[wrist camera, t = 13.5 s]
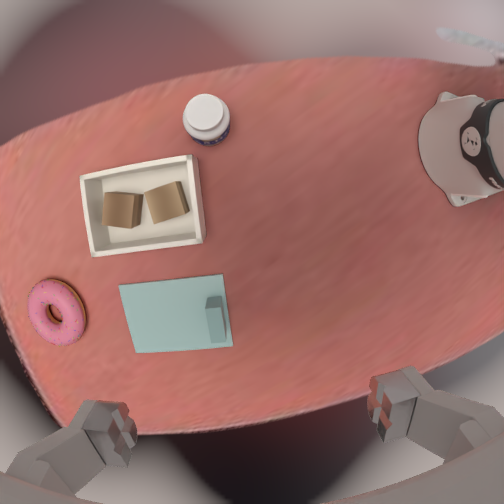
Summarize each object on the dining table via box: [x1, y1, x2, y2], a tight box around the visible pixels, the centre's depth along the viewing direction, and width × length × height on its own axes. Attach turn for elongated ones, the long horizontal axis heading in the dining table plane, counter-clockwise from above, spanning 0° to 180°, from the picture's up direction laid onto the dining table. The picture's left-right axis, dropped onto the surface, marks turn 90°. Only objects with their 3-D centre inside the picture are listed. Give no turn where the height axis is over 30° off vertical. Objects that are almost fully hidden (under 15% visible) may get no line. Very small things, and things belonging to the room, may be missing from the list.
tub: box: [79, 154, 207, 257], centre depth 36 cm, size 14×10×6 cm
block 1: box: [102, 191, 144, 229], centre depth 36 cm, size 4×4×4 cm
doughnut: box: [28, 279, 86, 347], centre depth 40 cm, size 11×11×4 cm
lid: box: [119, 273, 233, 353], centre depth 41 cm, size 15×11×5 cm
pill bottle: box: [183, 94, 230, 146], centre depth 33 cm, size 5×5×9 cm
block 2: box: [144, 181, 190, 224], centre depth 37 cm, size 4×4×4 cm
